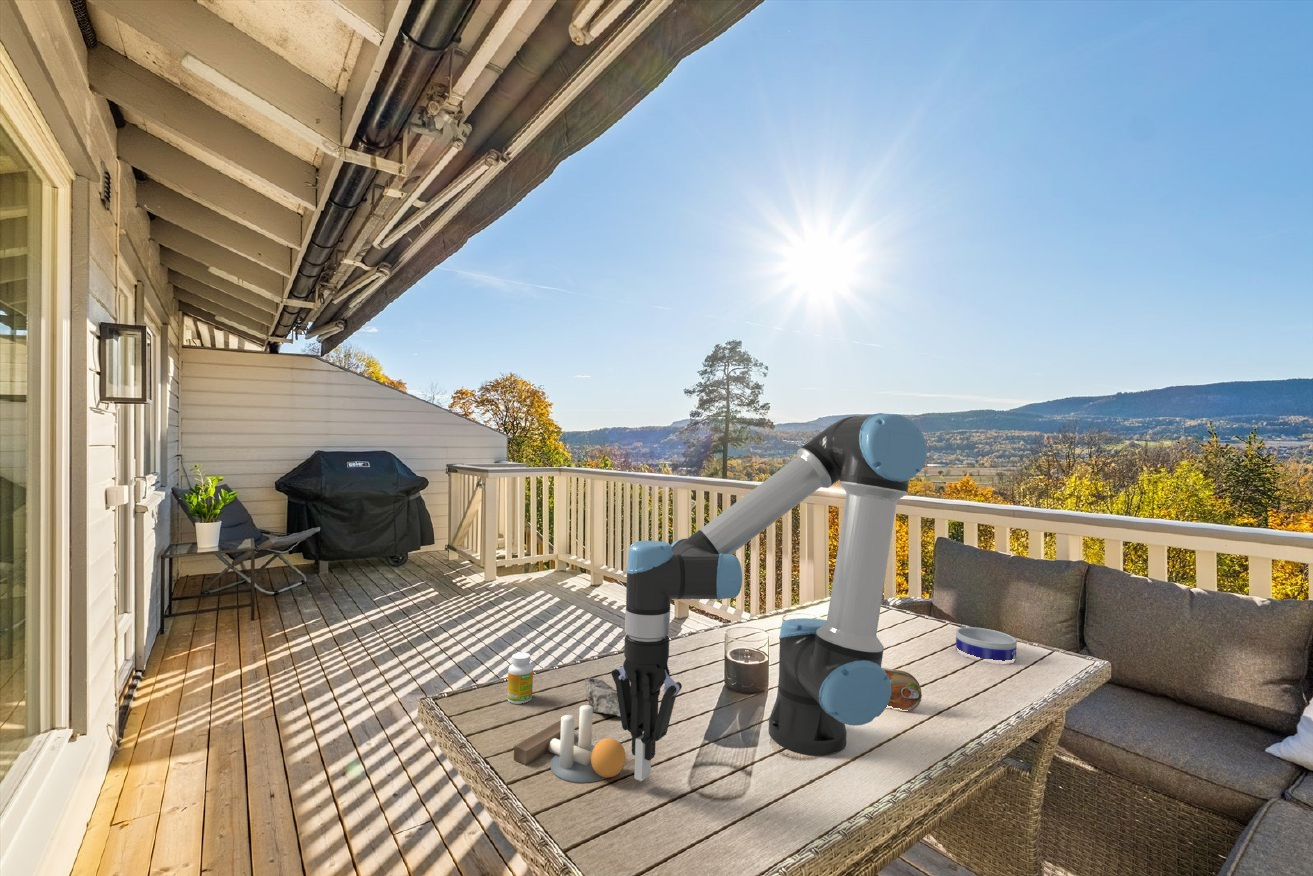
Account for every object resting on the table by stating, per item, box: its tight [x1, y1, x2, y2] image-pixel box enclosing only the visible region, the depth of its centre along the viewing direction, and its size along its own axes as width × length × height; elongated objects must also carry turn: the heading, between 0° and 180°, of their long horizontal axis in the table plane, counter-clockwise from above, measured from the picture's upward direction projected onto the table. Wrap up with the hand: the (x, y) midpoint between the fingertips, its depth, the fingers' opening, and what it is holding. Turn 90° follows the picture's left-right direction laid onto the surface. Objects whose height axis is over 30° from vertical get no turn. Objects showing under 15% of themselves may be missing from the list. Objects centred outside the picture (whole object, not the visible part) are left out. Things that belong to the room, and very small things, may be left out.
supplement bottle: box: [506, 652, 534, 705], centre depth 130 cm, size 5×5×10 cm
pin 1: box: [560, 714, 576, 769], centre depth 103 cm, size 2×2×8 cm
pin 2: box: [577, 704, 594, 751], centre depth 108 cm, size 2×2×8 cm
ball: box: [591, 737, 626, 779], centre depth 101 cm, size 6×6×6 cm
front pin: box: [548, 738, 592, 766], centre depth 106 cm, size 2×2×8 cm
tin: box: [882, 667, 923, 712], centre depth 133 cm, size 15×3×8 cm, turn 65°
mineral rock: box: [583, 677, 621, 717], centre depth 128 cm, size 15×8×4 cm, turn 17°
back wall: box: [513, 719, 561, 766], centre depth 110 cm, size 3×13×2 cm, turn 147°
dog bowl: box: [955, 626, 1018, 661], centre depth 169 cm, size 15×15×6 cm
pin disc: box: [549, 745, 607, 784], centre depth 104 cm, size 12×12×1 cm
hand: (642, 776), depth 98 cm, fingers closed
